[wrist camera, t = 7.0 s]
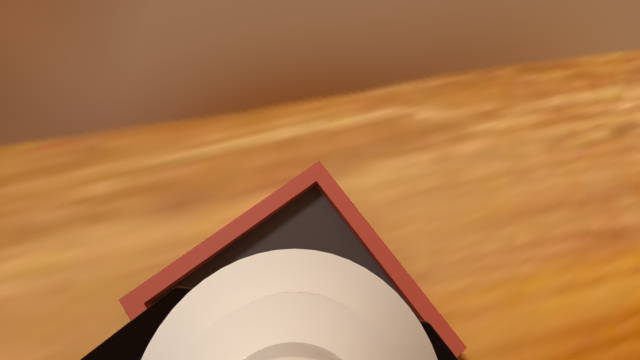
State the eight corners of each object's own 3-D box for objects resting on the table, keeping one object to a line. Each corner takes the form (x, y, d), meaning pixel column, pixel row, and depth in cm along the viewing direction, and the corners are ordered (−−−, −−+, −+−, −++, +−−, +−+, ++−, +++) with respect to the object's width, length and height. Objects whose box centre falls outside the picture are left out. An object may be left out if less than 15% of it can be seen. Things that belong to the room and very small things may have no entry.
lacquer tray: (449, 340, 17) (466, 347, 15) (266, 516, 14) (262, 550, 12) (317, 171, 19) (319, 161, 17) (137, 297, 16) (118, 299, 15)
